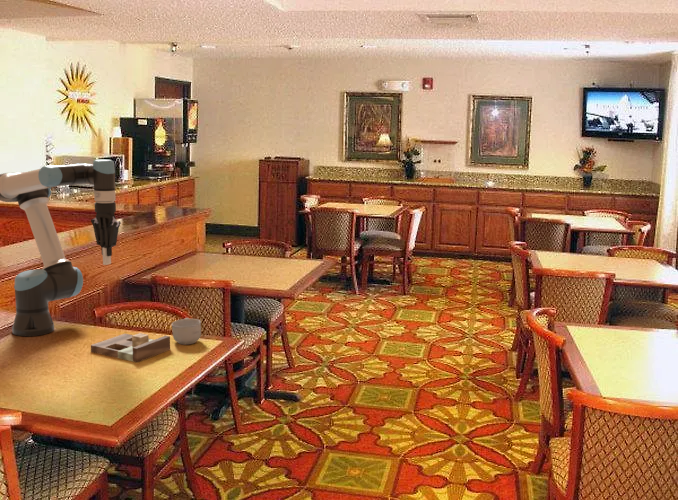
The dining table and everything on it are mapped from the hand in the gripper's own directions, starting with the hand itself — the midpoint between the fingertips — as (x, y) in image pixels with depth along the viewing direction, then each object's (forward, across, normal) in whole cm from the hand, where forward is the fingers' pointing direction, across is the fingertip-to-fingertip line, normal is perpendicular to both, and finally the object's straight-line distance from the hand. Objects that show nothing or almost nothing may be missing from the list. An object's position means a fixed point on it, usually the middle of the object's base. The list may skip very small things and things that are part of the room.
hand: (107, 264), depth 283 cm
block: (+26, +23, -8) cm, 36 cm away
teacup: (+29, +28, +12) cm, 42 cm away
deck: (+28, +18, -8) cm, 35 cm away
